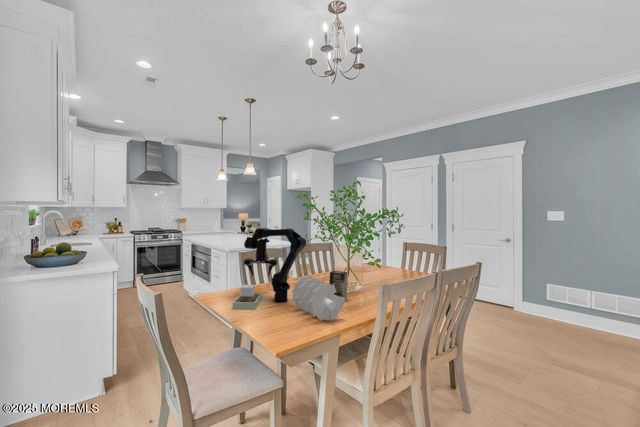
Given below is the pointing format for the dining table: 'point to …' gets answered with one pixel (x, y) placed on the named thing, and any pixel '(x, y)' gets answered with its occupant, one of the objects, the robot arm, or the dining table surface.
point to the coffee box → (339, 283)
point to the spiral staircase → (317, 298)
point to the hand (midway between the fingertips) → (260, 276)
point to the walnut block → (247, 298)
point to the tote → (247, 303)
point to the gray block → (247, 290)
